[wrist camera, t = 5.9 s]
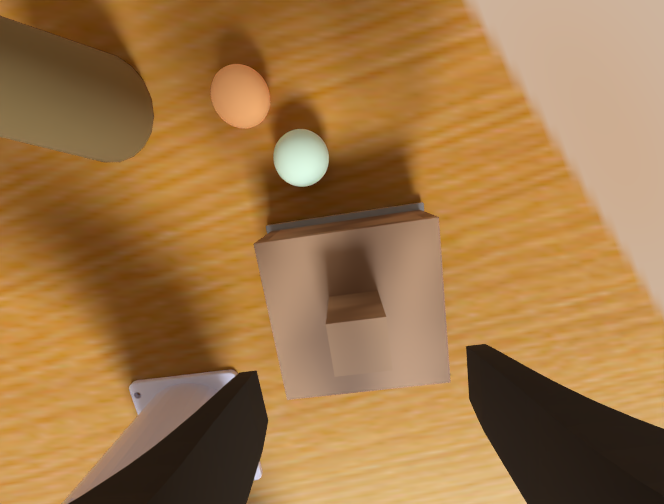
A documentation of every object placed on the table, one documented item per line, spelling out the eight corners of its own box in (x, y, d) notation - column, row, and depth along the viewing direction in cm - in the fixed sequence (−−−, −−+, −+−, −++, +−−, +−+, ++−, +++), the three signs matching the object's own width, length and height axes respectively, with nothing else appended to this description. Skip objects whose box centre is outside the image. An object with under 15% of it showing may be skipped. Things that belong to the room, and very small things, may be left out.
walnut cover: (419, 209, 18) (463, 227, 11) (431, 345, 20) (473, 426, 14) (270, 231, 19) (232, 259, 12) (296, 361, 21) (275, 445, 14)
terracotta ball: (280, 127, 18) (267, 117, 15) (230, 136, 18) (208, 127, 15) (270, 70, 17) (255, 48, 14) (218, 80, 17) (192, 60, 14)
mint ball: (333, 182, 18) (331, 182, 15) (284, 189, 18) (273, 191, 16) (325, 129, 18) (322, 119, 15) (275, 137, 18) (261, 129, 15)
